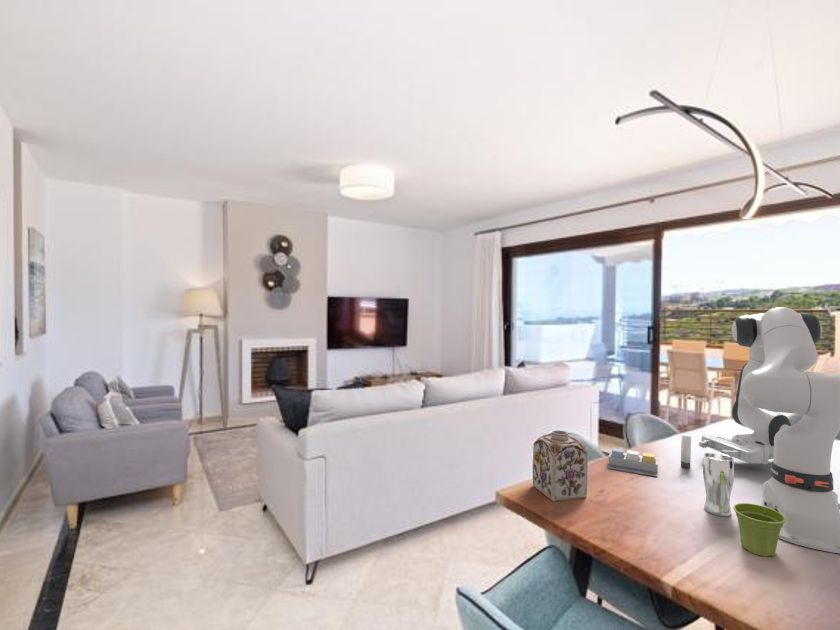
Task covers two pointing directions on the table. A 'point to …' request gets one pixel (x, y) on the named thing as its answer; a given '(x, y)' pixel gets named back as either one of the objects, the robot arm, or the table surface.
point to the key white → (633, 455)
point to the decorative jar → (560, 466)
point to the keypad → (633, 465)
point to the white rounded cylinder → (685, 451)
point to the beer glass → (718, 483)
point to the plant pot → (759, 528)
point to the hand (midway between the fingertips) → (711, 449)
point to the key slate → (618, 453)
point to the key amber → (648, 458)
